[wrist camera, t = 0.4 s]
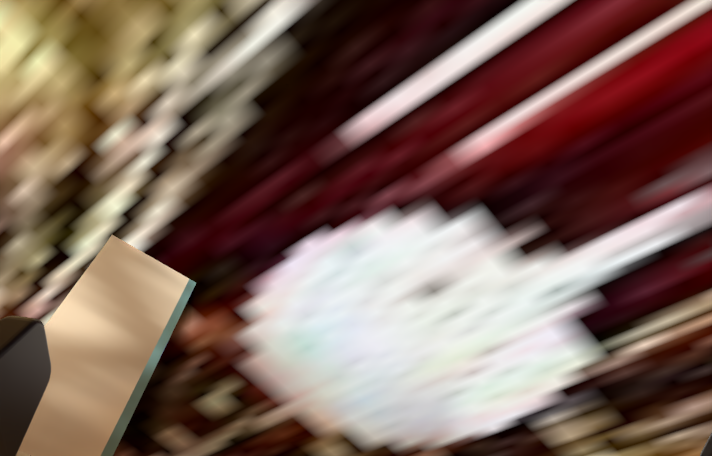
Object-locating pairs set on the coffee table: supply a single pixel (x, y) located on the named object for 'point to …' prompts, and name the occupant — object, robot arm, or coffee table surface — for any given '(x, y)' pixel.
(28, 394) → the robot arm
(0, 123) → the coffee table surface
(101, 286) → the tile
